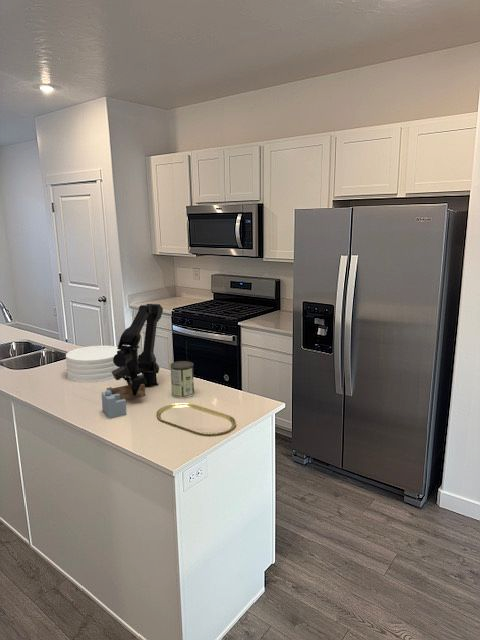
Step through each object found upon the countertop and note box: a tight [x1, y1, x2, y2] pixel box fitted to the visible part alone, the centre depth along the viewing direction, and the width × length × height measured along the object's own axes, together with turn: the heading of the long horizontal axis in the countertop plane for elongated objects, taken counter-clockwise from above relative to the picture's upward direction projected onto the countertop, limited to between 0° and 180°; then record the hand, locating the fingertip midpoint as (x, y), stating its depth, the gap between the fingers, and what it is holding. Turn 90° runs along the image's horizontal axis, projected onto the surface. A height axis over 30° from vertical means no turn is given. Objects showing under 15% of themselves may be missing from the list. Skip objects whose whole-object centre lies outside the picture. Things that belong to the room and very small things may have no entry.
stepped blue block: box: [100, 389, 127, 419], centre depth 179 cm, size 7×9×10 cm
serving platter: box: [156, 402, 237, 436], centre depth 173 cm, size 19×35×2 cm, turn 54°
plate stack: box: [65, 345, 119, 384], centre depth 228 cm, size 28×28×12 cm
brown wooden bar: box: [106, 384, 146, 401], centre depth 195 cm, size 16×4×6 cm, turn 123°
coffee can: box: [169, 360, 195, 399], centre depth 199 cm, size 10×10×14 cm
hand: (133, 394), depth 197 cm, fingers closed on brown wooden bar, 4 cm apart
